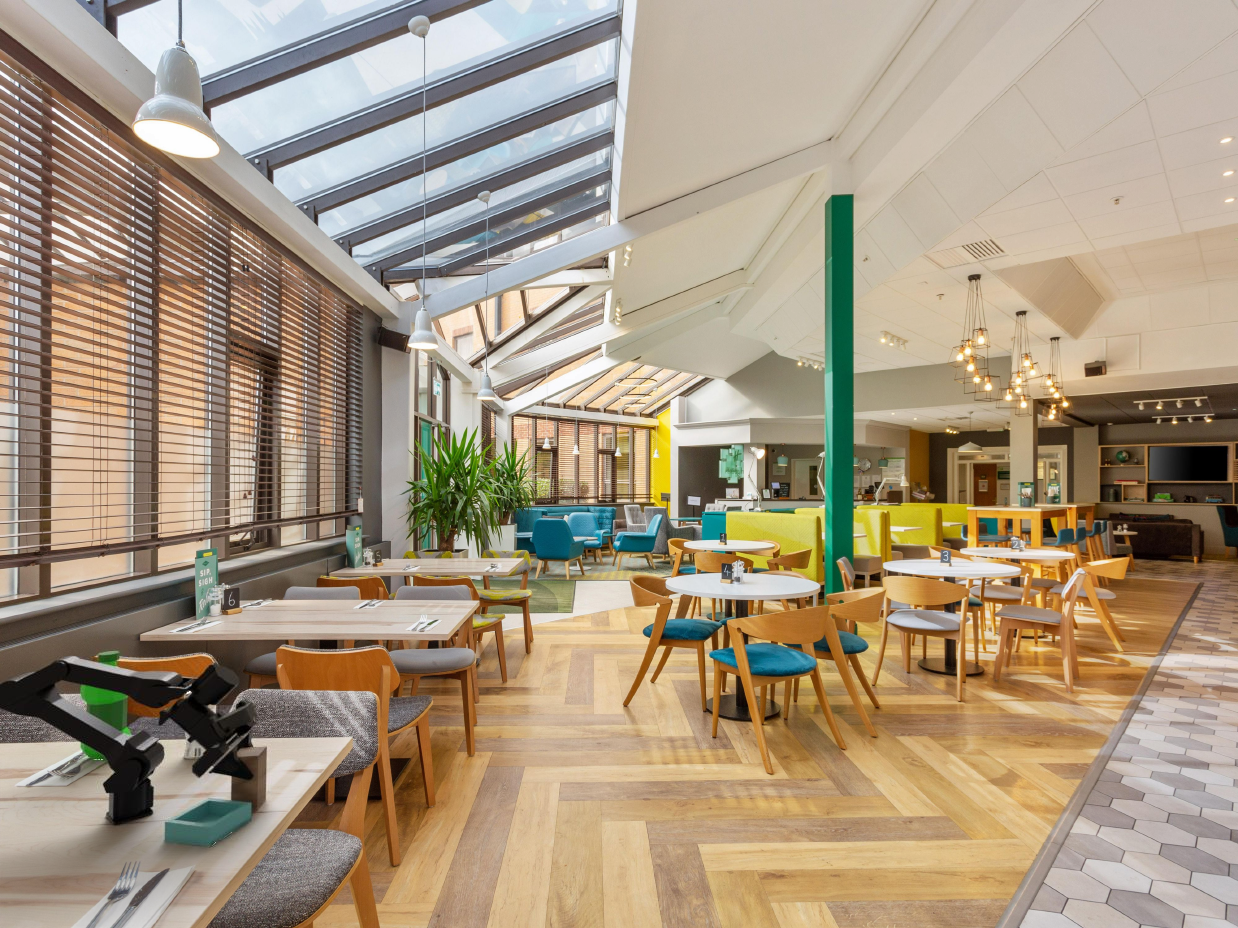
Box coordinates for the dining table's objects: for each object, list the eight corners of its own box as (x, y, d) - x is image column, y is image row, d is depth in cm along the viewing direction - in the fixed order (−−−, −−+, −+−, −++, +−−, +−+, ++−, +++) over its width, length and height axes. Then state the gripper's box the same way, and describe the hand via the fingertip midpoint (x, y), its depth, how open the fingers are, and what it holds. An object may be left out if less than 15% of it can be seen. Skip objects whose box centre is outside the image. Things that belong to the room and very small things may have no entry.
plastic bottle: (123, 745, 172) (126, 646, 173) (137, 755, 165) (139, 652, 166) (74, 757, 164) (77, 653, 165) (86, 768, 158) (89, 660, 159)
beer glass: (203, 760, 162) (204, 697, 163) (174, 760, 163) (176, 697, 163) (221, 749, 169) (222, 688, 170) (193, 748, 170) (195, 688, 170)
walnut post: (230, 812, 136) (231, 757, 137) (240, 801, 141) (241, 747, 142) (257, 810, 137) (258, 755, 137) (265, 799, 142) (266, 746, 142)
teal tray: (164, 840, 125) (164, 821, 125) (207, 815, 135) (208, 797, 135) (210, 846, 123) (210, 827, 123) (251, 820, 133) (251, 802, 133)
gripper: (211, 706, 130) (271, 760, 132) (247, 679, 149) (299, 727, 150) (165, 750, 129) (226, 804, 130) (207, 717, 147) (261, 765, 148)
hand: (256, 772), depth 140 cm, fingers closed on walnut post, 5 cm apart
